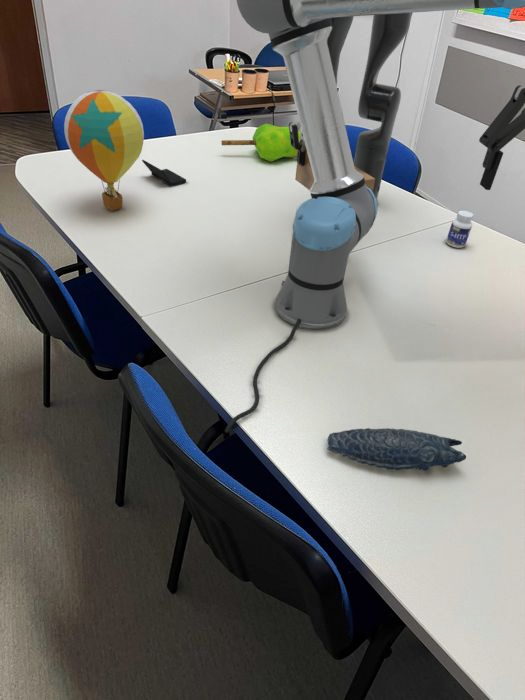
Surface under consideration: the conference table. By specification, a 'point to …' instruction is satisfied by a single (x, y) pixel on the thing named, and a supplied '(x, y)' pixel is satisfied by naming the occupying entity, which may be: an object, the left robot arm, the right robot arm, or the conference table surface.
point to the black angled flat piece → (165, 175)
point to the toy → (105, 138)
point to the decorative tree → (269, 142)
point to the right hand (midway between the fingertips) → (310, 163)
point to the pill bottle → (460, 229)
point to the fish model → (395, 448)
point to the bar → (307, 178)
